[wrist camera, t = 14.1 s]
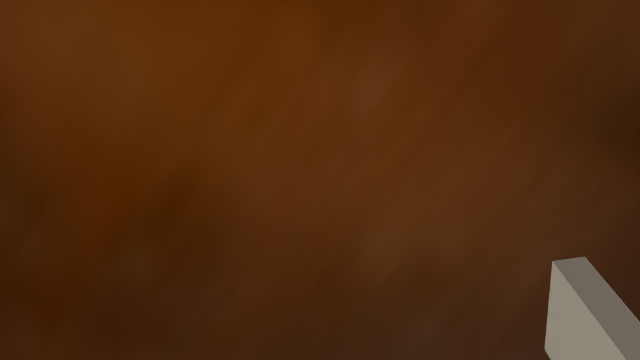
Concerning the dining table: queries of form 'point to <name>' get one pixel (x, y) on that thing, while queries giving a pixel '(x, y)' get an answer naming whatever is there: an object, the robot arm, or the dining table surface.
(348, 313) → the dining table surface
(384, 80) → the dining table surface
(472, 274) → the dining table surface
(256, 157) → the dining table surface
